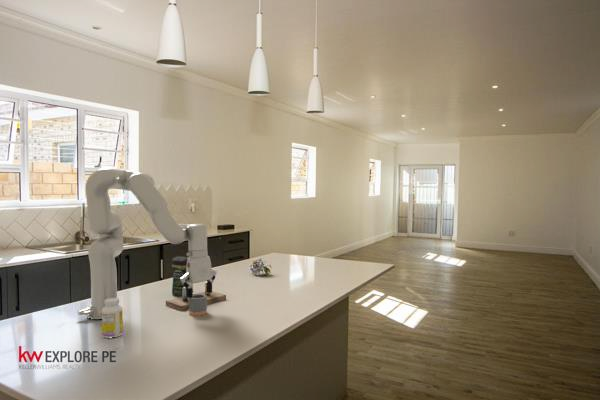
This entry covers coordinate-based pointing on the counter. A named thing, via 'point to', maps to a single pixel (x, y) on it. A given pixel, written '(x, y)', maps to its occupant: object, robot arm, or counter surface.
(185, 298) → the pins
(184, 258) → the coffee jar
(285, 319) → the counter surface
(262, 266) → the passion flower
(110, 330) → the supplement bottle
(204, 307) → the sleeve
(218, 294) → the pin board
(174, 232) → the robot arm
